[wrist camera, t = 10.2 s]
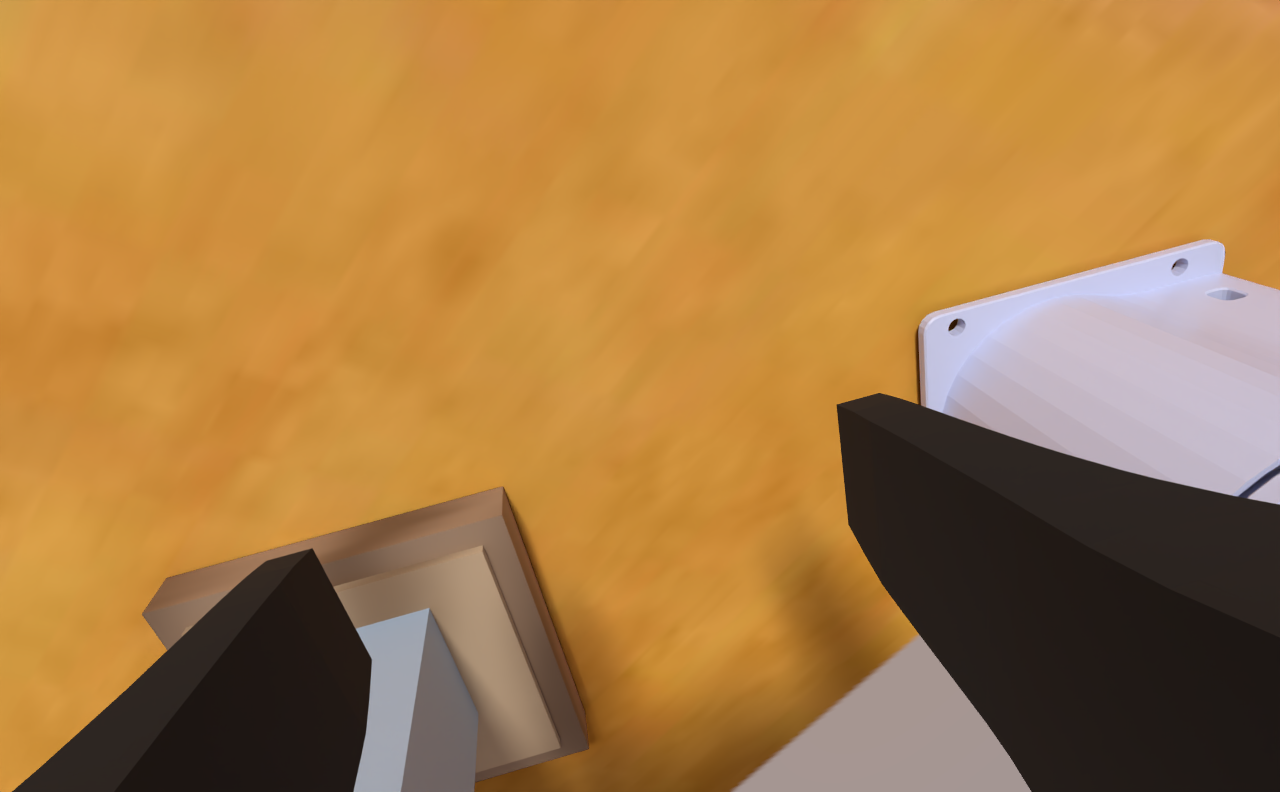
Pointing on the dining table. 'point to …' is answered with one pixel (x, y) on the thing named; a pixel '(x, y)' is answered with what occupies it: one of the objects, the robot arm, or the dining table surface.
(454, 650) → the walnut plinth
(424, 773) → the blue block
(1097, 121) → the dining table surface
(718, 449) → the dining table surface
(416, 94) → the dining table surface
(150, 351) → the dining table surface
